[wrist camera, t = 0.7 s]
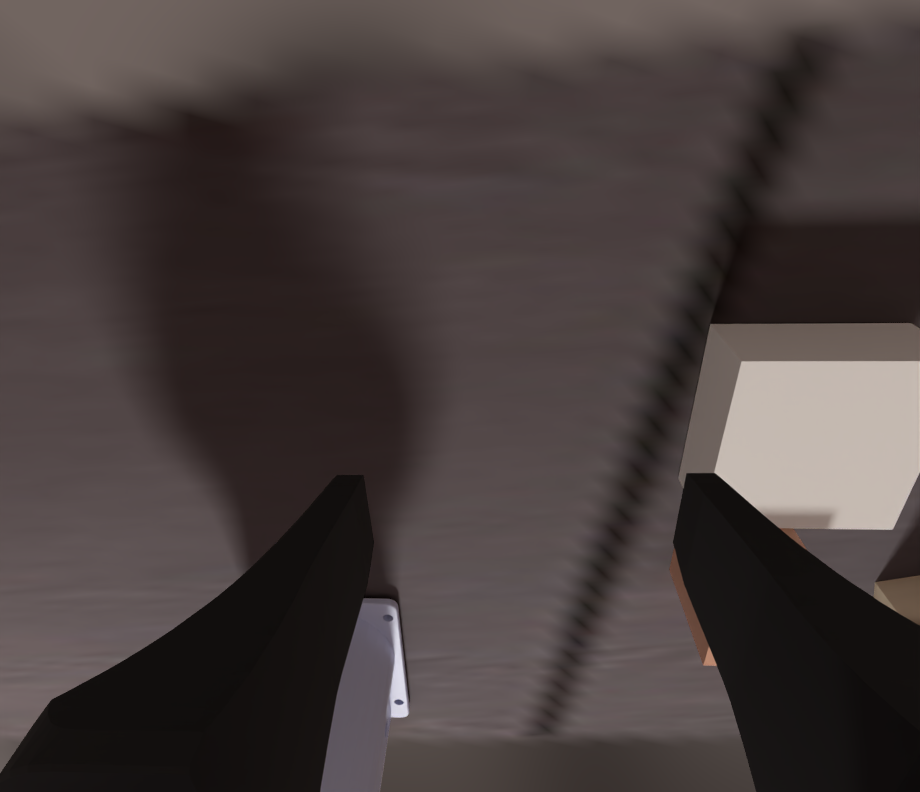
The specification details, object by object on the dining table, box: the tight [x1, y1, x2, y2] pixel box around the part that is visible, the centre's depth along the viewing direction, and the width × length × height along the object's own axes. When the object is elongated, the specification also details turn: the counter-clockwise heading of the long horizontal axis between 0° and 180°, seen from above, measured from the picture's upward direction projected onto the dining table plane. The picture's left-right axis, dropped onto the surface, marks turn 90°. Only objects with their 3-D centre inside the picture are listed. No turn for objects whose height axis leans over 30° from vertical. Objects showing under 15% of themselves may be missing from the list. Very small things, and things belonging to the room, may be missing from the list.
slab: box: [678, 323, 920, 530], centre depth 21 cm, size 7×7×3 cm
